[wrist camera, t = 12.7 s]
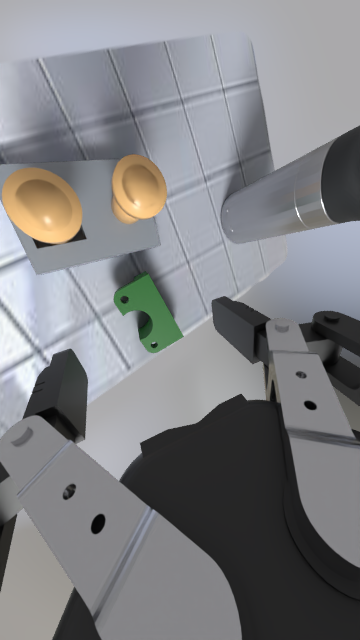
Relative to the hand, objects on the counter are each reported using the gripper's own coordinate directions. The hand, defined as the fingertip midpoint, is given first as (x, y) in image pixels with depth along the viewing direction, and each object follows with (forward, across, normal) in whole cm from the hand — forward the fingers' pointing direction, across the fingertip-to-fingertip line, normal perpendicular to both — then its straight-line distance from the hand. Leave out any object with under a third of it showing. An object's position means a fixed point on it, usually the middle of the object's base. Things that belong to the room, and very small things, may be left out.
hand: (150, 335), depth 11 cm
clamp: (+21, -2, +8) cm, 23 cm away
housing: (+24, +1, -6) cm, 24 cm away
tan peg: (+22, +6, -6) cm, 24 cm away
